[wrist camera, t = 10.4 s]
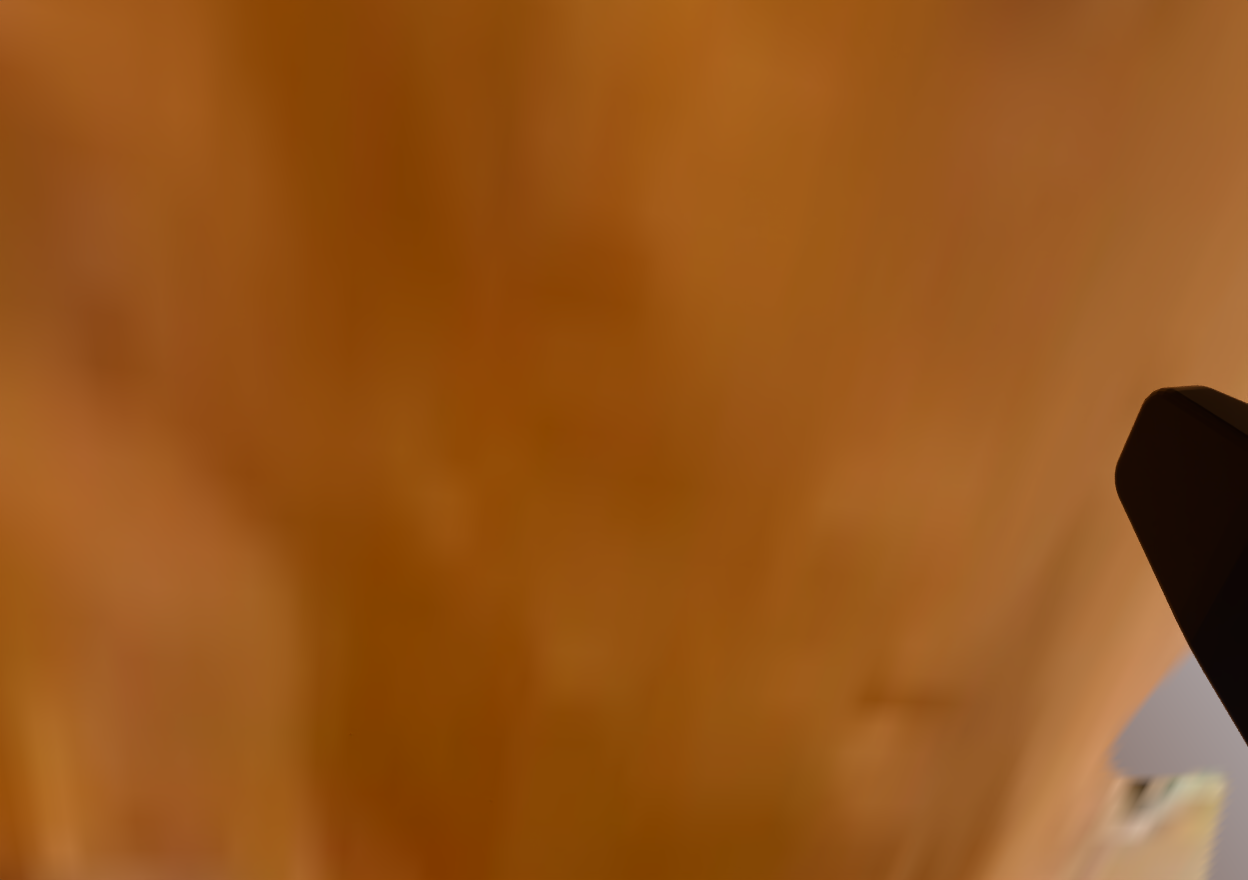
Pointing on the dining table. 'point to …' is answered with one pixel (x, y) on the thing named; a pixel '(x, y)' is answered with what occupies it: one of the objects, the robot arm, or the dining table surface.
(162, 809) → the dining table surface
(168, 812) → the dining table surface
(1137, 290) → the dining table surface
